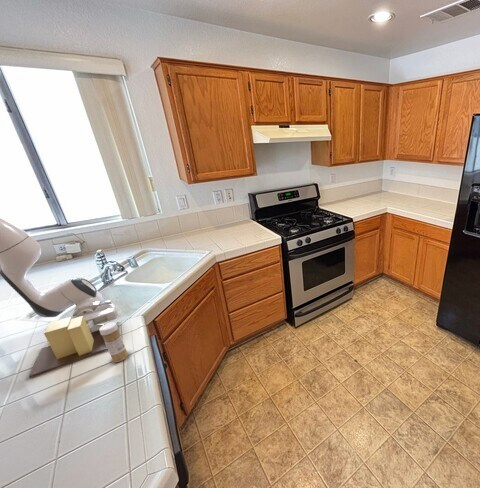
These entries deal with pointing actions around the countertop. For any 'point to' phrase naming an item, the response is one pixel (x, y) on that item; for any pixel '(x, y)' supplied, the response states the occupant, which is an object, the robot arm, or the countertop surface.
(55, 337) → the butter block
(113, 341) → the sprinkles bottle
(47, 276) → the countertop surface
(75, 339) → the butter slice
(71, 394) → the countertop surface
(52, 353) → the walnut board
